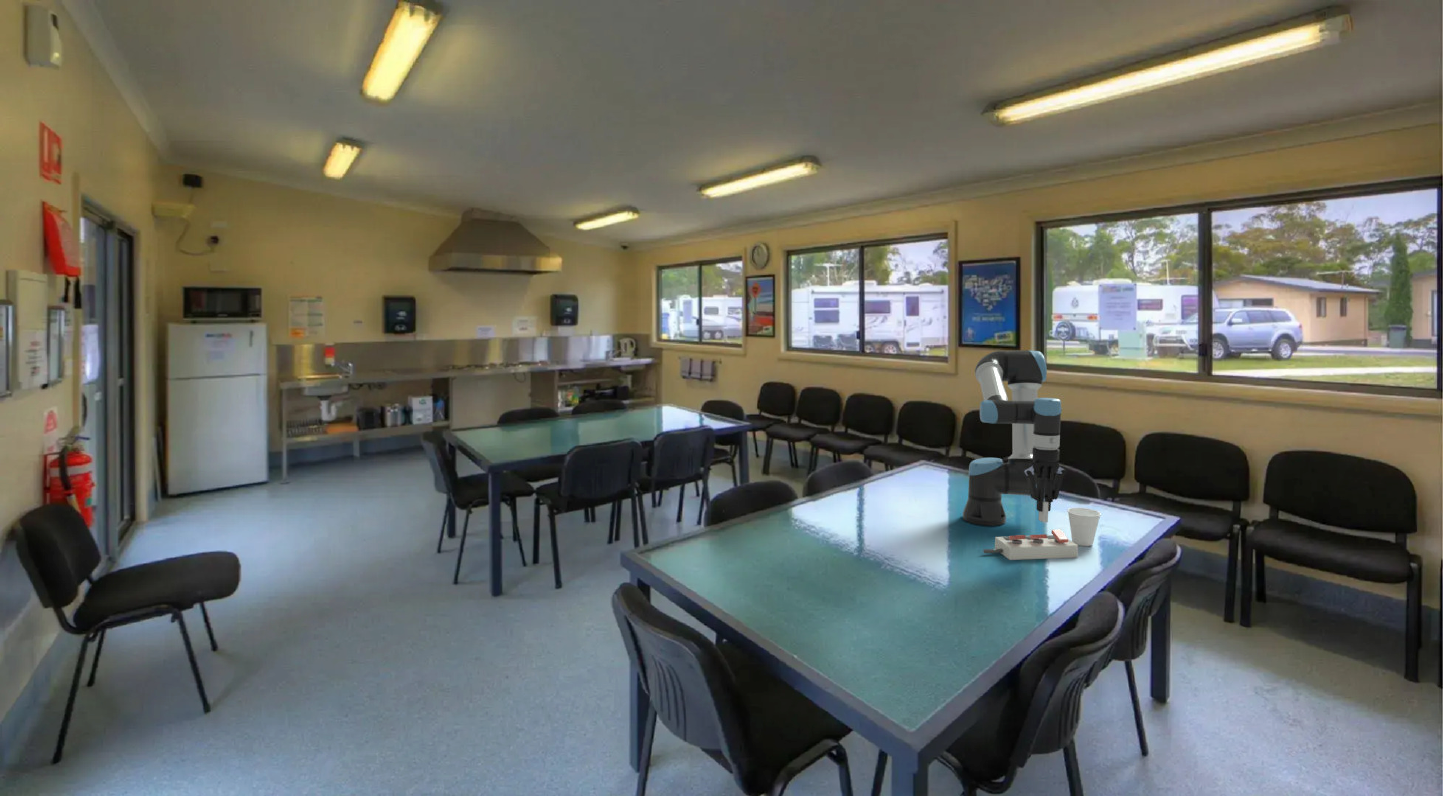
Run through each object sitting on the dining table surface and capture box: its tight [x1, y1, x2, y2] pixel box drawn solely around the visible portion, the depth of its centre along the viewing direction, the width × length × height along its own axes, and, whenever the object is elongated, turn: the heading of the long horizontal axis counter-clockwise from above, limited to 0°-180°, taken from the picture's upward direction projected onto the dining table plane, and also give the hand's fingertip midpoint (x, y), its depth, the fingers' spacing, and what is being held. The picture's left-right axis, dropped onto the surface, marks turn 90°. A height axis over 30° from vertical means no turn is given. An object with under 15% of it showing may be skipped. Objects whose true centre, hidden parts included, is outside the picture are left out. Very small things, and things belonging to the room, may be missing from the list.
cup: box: [1066, 507, 1102, 547], centre depth 217 cm, size 10×10×11 cm
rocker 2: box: [1029, 533, 1048, 539], centre depth 207 cm, size 5×3×1 cm, turn 2°
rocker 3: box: [1050, 529, 1070, 543], centre depth 208 cm, size 5×3×1 cm, turn 3°
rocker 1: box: [1008, 534, 1026, 540], centre depth 207 cm, size 5×3×1 cm, turn 2°
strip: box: [982, 534, 1079, 561], centre depth 209 cm, size 10×28×5 cm, turn 93°
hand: (1043, 521), depth 204 cm, fingers closed
